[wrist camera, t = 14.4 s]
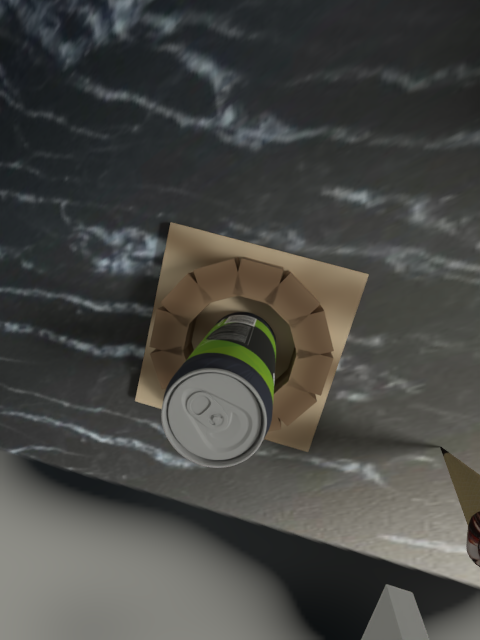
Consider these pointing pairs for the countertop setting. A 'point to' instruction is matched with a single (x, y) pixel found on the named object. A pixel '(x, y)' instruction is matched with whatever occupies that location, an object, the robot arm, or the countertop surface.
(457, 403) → the countertop surface
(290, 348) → the holder
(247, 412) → the beverage can
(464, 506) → the ice cream cone
